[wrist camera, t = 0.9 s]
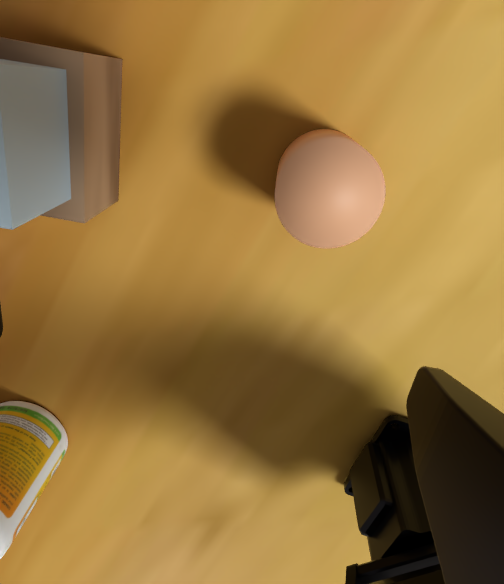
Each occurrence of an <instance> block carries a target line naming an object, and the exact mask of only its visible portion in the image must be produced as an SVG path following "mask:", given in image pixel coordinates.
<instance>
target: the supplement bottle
mask: <svg viewBox="0 0 504 584" xmlns="http://www.w3.org/2000/svg"><path fill="white" fill-rule="evenodd" d="M67 446H68V438H67V434H66V432H65V429H64V428H63V426H62V424H61V423H60V422H59V421H58V419H57V418H56V417H55V416H53V415H52V414H51V413H50V412H48V411H47V410H45V409H44V408H42V407H40V406H38V405H35V404H32V403H29V402H23V401H8V402H4V403H1V404H0V559H1V558H2V557H3V555H4V554H5V553H6V551H7V550H8V548H9V547H10V545H11V544H12V542H13V540H14V539H15V537H16V535H17V534H18V532H19V530H20V529H21V527H22V525H23V523H24V522H25V520H26V519H27V517H28V515H29V514H30V512H31V510H32V509H33V507H34V505H35V504H36V502H37V500H38V499H39V497H40V495H41V494H42V492H43V490H44V489H45V487H46V486H47V484H48V482H49V481H50V479H51V477H52V476H53V474H54V472H55V471H56V469H57V467H58V466H59V464H60V462H61V461H62V459H63V457H64V455H65V453H66V450H67Z"/></svg>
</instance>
